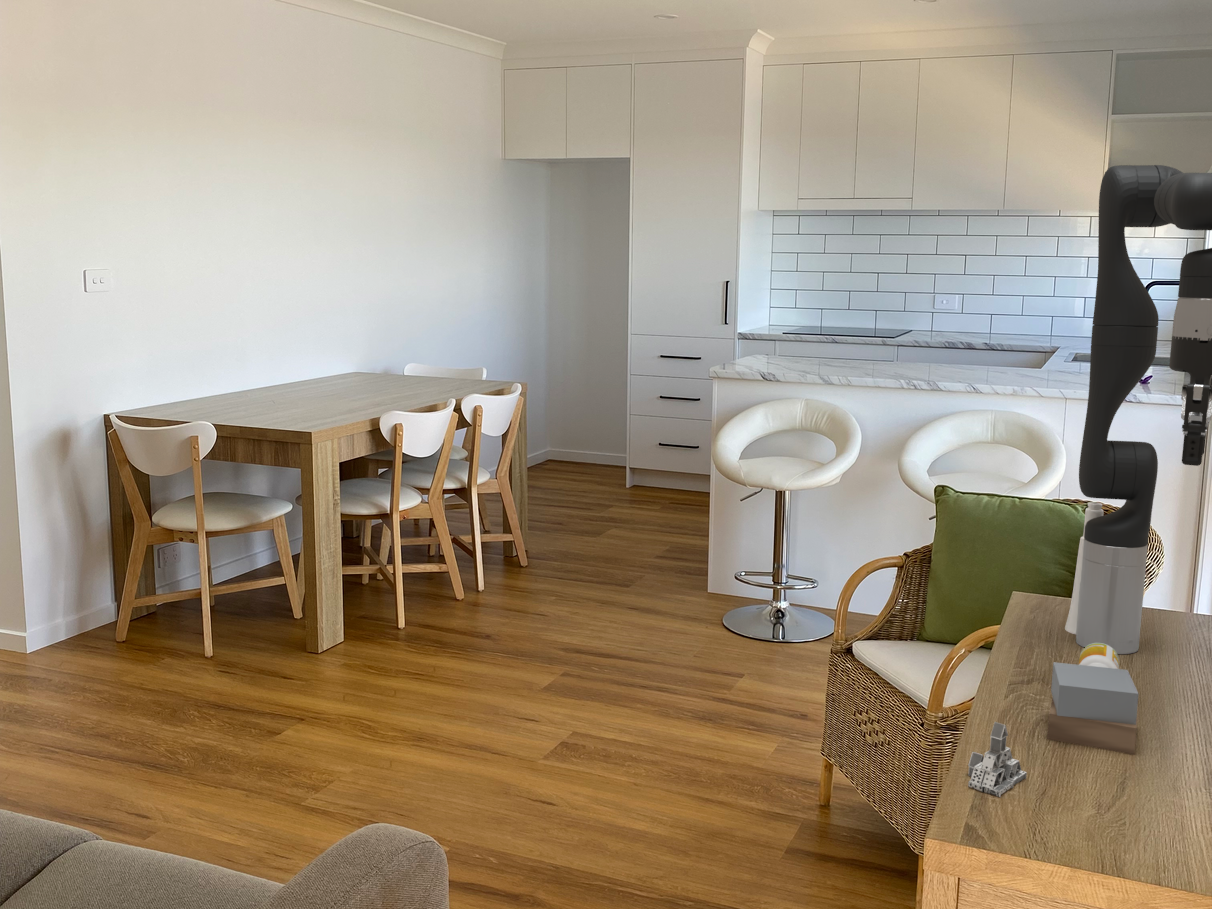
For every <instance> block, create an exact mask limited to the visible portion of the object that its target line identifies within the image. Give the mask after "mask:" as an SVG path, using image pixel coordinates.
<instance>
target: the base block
mask: <svg viewBox="0 0 1212 909" xmlns="http://www.w3.org/2000/svg"><path fill="white" fill-rule="evenodd" d="M1051 699H1052V700H1051V703H1050V706H1049V707H1050V708H1049V711H1048V719H1047V720H1048V722H1047V733H1046V740H1051V741H1056V742H1062V743H1067V744H1072V743H1073V744H1074V745H1079V746H1085V747H1090V748H1096V749H1101V750H1106V751H1112V752H1117V753H1123V754H1127V755H1135V752H1136V743H1137V742H1136V741H1137V731H1138V716H1137V717H1136V725H1134V724H1125V723H1117V722H1108V721H1100V720H1091V719H1083V718H1074V717H1065V716H1057V713H1056V708H1055V704H1054V700H1053V697H1052V698H1051Z"/></svg>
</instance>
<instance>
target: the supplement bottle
mask: <svg viewBox="0 0 1212 909" xmlns="http://www.w3.org/2000/svg"><path fill="white" fill-rule="evenodd" d="M1078 658H1079V659H1078V665H1086V666H1095V667H1105V668H1114V669H1120V657H1119V654H1117V653H1116V651H1115V650H1114V649H1113V648H1112V647H1110V646H1108V645H1106V644H1103V643H1092V644H1089V645H1088V646H1086V647H1085V648H1084V647H1083V649H1081V651H1080V654H1079V657H1078Z"/></svg>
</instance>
